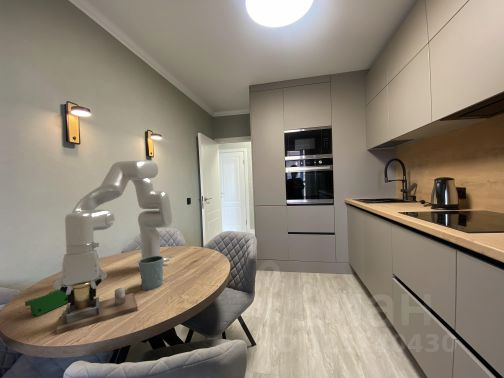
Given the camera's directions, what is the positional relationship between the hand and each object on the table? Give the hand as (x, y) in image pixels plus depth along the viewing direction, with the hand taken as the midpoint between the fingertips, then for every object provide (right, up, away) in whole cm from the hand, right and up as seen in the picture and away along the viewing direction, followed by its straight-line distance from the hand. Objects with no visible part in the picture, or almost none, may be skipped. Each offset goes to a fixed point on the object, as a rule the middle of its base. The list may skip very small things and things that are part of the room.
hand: (82, 301), depth 77 cm
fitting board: (+4, -5, +3) cm, 8 cm away
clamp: (-18, -7, +7) cm, 21 cm away
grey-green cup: (+13, -5, +24) cm, 28 cm away
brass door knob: (0, -1, 0) cm, 1 cm away
